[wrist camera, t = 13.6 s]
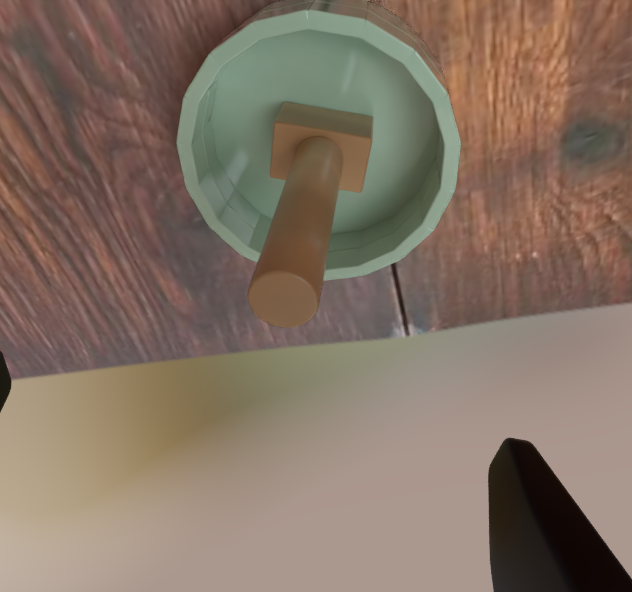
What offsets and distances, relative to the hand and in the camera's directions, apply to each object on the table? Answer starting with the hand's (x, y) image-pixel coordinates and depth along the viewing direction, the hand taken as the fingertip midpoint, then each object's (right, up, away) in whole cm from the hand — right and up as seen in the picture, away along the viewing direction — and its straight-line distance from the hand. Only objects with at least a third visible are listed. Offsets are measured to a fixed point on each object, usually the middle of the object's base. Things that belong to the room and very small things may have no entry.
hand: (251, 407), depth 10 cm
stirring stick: (+1, +8, +10) cm, 13 cm away
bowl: (+1, +8, +10) cm, 13 cm away
